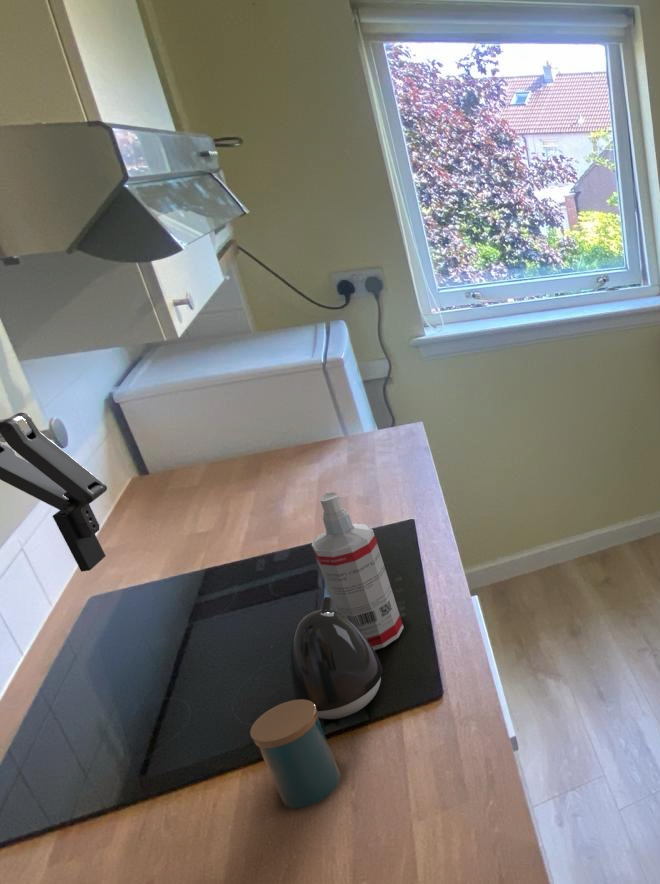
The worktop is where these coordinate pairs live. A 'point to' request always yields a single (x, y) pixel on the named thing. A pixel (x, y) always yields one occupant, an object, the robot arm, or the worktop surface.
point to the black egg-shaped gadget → (333, 664)
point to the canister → (296, 752)
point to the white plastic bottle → (356, 574)
